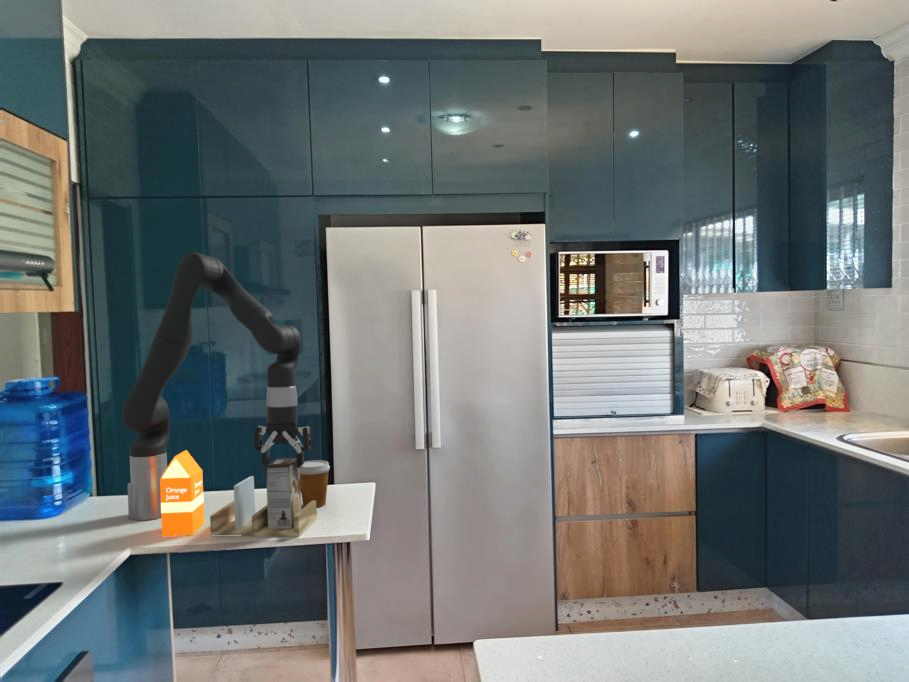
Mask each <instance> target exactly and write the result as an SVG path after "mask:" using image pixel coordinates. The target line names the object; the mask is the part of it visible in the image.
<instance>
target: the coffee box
mask: <svg viewBox="0 0 909 682" xmlns="http://www.w3.org/2000/svg"><path fill="white" fill-rule="evenodd" d="M265 476H266V479H265V480H266V481H265V482H266V501H267V503H266V505H267V510H268V529H292V528H293V527H294V516H295V515H296V514H297V513H298V512H300V511H301V510H302V509H303V508H302V495H301V481H300V468H297V461H296V457H281V458H275V459H274V460H273V461H270V464H268V465H267V466H266V467H265Z"/></svg>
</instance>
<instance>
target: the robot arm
mask: <svg viewBox="0 0 909 682" xmlns="http://www.w3.org/2000/svg"><path fill="white" fill-rule="evenodd" d="M199 289H200V290H203V291H204V290H205V291H211V292H212V293H214V294H215V295H217V296H219V297H220V298H222V299H223V300H224V301H225V303H226V304H227V306H228V308H229V310H230V312H231V314H232V315H233V316H234V318H235V319H236V320H237V321H238V322H239V323H240V324H241V325H243V326H244V327H245V328H246V329H247V330H249V331H250V333H251V334H252V336H253V339H254V340H255V341H256V342H257V344H258V345H259V347H260V348H261V349H262V350H264V351H265V352H267V353H269V354H274V355H275V354H276V356H277V357H276V360H275V361H273V362H272V363H271V364H269V365H268V367H267V370H266V371H267V373H266V374H267V375H266V378H267V380H266V382H267V383H266V384H267V387H266V388H267V390H266V423H267V425H266V426H263V425H258V426H255V427H254V439H253V440H254V443H253V449H254V450H255V451H259V452H260V454H261V464H262V465H263V467H264V468H266V466H267V465H268V464H270V463H271V454H270V453H271V451H270V449H271V447H273V445H274V444H275V445H279V444H283V445H288V444H290V445H291V447H292V448H293V449H294V450H295V451H296V457H295V458H296V461H297V468H300V467H302V465H303V464H304V462H305V452H307V451H309V450H311V449H312V437H311V427H310V426H309V425H307V426H301V427H300V426H299V424H298V420H299V419H298V403H299V402H298V392H297V378H296V374H297V372H296V369H297V366H298V362H299V357H300V353H301V348H302V337H301V334H300V331H299V330H298V329H297V328H296V326H295V327H294V326H293V325H287V324H286V325H276V324H274V315H273V314H272V313H271V311H270V310H269V309H267V307H265V306H264V305H263V304H262V303H260V302H259V301H258V300H257V299H256V298H254V297H253V296H252V295H251V294H250V293H249V292H247V290H246V289H245V288H244V287H243V286H242V285H241V284H240V283H239V282H238V281H237V279H236V278H235V277H234V276H233V275H232V274H231V272H230V270H229V269H228V268H227V267H226V266H225V264H223V262H222V261H221V260H219V259H218V258H216V257H213V256H210V255H207V254H203V253H199V252H189V253H187V254H185V256H183V257H182V259H181V260H180V261H179V263H178V266H177V269H176V272H175V276H174V279H173V283H172V287H171V291H170V295H169V297H168V300H167V303H166V307H165V309H164V312H163V314H162V318H161V320H160V323H159V325H158V327H157V330H156V332H155V334H154V337H153V340H152V342H151V345H150V348H149V351H148V354H147V356H146V357H145V361H144V363H143V365H142V368H141V371H140V373H139V376H138V378H137V381H136V382H135V384H134V385H133V388H132V390H131V391H130V394H129V395H128V396H127V398H126V399H127V400H126V401H125V403H124V405H123V407H122V411H121V421H122V423H123V426H124V427H125V428H126V429H127V430H129V431H131V432H136V433H137V435H136V437H135V440H134V441H133V442H132V443H131V444H130V445H129V450H128V451H129V467H130V468H129V471H130V474H129V475H130V482H128V483H127V504H128V505H127V506H128V509H127V510H128V519H132V520H135V521H151V520H157V519H160V518H162V516H161V490H160V478H161V477H162V475H163V474H164V472H165V471H166V469H167V468H168V454H167V446H168V444H169V440H170V408H169V406H168V403H167V402H166V400H165V399H164V398H163V397H162V396H161V393H162V391H163V390H164V387H166V384H168V381H170V379H171V378H172V377H173V376H174V375H175V373H176V372H177V371H178V369H179V368H180V367H181V365H183V363H184V361H185V359H186V358H187V356H188V352H189V351H190V347H191V345H192V342H193V339H194V325H193V318H192V308H193V307H192V306H193V303H194V300H195V297H196V294H197V293H198V291H199ZM265 433H266V434H267V436H268V438H267V440H266V442H265V443H264V445H263V437H264V435H265ZM298 434H300V436H302V438H303V439H302V442H303V444H302V442H301V440H300V439H299V438H298V436H297V435H298ZM150 519H151V520H150Z"/></svg>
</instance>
